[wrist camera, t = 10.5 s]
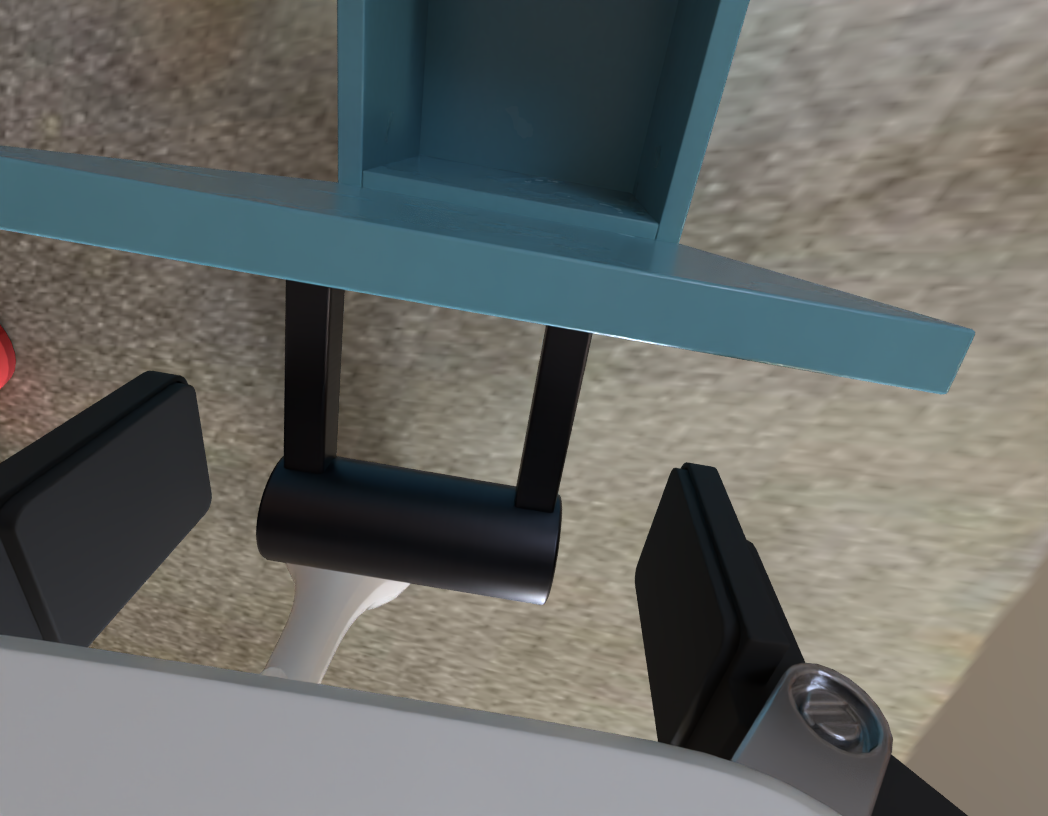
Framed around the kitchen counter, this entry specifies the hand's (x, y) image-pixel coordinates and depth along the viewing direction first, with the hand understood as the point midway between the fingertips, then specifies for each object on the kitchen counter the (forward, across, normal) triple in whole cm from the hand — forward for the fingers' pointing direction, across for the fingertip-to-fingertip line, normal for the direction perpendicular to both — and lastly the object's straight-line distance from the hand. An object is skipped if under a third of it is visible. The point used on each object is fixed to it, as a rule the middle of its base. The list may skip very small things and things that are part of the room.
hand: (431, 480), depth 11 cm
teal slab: (+5, 0, -4) cm, 6 cm away
